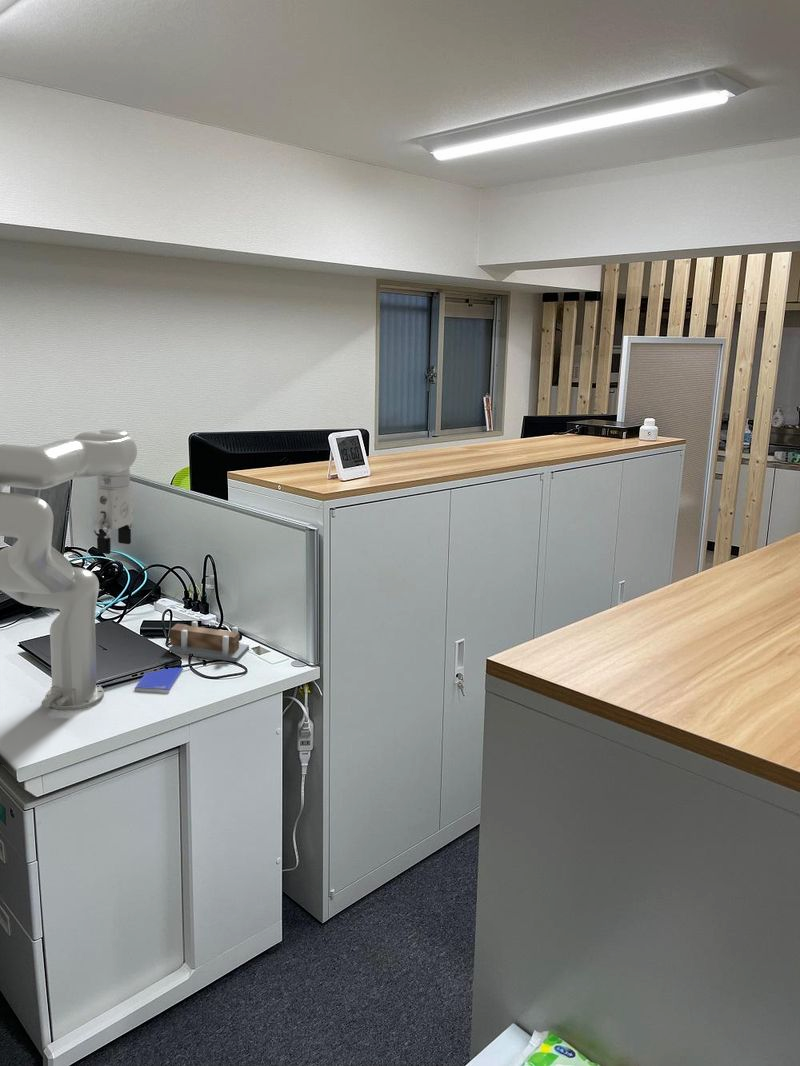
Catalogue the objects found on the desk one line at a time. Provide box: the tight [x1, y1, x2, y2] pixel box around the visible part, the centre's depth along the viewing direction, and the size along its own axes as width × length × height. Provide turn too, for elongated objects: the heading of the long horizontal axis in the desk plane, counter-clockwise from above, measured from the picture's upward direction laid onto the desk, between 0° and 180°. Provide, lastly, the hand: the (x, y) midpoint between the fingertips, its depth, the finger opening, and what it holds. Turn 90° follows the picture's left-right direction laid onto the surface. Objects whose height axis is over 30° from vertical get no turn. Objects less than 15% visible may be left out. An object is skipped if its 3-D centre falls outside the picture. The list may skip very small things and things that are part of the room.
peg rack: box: [168, 620, 250, 663], centre depth 214 cm, size 19×9×6 cm, turn 80°
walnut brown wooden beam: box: [169, 623, 240, 653], centre depth 214 cm, size 18×4×4 cm, turn 81°
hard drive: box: [134, 667, 184, 694], centre depth 195 cm, size 2×8×12 cm
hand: (114, 548), depth 197 cm, fingers open, 9 cm apart
